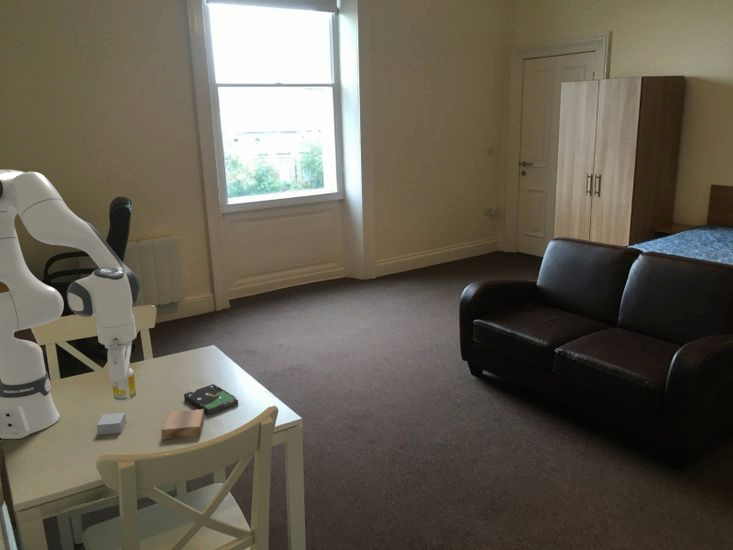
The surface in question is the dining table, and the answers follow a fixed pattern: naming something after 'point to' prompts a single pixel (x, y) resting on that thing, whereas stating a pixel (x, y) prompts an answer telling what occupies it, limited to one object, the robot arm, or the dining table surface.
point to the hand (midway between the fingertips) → (123, 383)
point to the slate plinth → (111, 423)
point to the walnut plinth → (183, 424)
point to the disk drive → (211, 399)
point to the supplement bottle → (130, 388)
